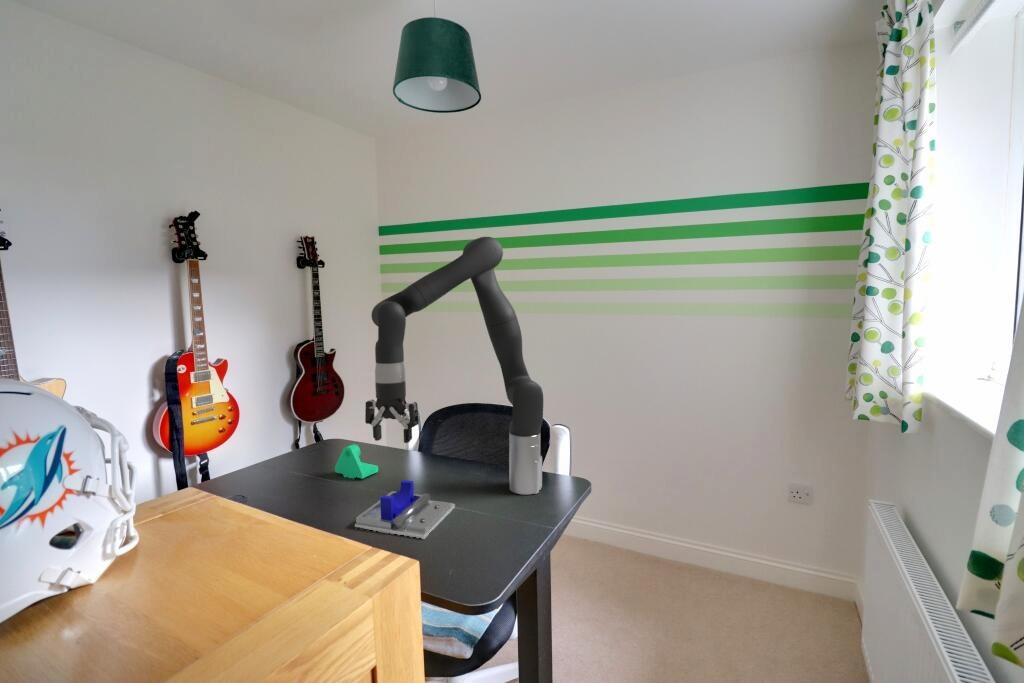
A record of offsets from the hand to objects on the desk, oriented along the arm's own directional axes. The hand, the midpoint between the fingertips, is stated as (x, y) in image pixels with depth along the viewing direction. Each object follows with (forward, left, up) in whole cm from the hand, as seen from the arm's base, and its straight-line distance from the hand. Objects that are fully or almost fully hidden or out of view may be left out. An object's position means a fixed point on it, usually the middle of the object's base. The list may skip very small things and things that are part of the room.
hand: (392, 441), depth 123 cm
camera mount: (+27, -22, -20) cm, 41 cm away
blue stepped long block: (0, 0, -19) cm, 19 cm away
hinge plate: (-4, 0, -20) cm, 20 cm away
